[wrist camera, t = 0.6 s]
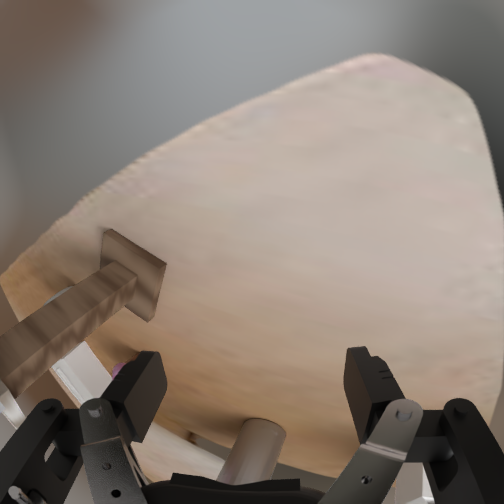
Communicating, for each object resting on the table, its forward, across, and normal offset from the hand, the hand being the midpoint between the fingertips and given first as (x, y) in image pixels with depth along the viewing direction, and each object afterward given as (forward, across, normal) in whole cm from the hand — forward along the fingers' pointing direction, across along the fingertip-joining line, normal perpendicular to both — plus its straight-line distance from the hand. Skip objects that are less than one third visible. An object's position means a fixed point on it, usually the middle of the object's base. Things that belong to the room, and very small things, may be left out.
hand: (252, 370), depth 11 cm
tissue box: (+45, -48, -41) cm, 78 cm away
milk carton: (+23, +30, -42) cm, 57 cm away
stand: (+33, -23, -6) cm, 41 cm away
